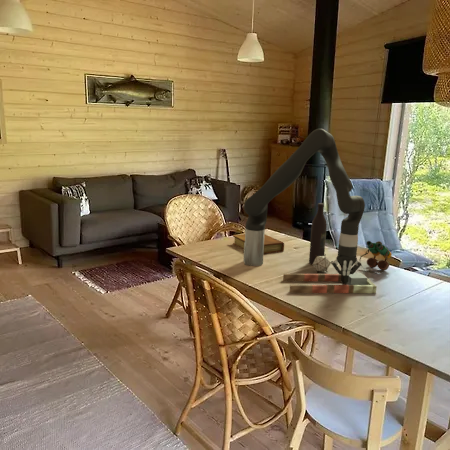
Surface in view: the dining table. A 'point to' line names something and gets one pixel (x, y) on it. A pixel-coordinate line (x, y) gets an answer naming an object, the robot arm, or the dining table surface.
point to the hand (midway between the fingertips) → (344, 283)
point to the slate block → (357, 279)
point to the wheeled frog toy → (377, 250)
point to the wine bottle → (318, 234)
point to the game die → (321, 263)
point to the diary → (269, 243)
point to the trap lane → (326, 288)
